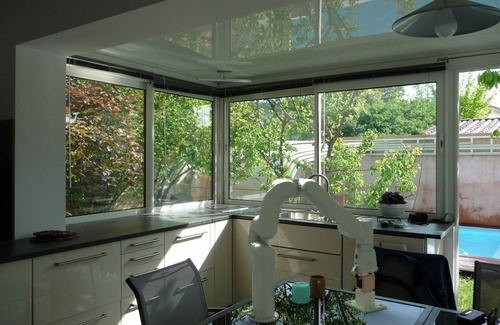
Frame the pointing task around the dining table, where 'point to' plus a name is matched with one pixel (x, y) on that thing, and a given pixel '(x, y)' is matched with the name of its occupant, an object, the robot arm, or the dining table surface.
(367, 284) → the orange tan cube
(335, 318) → the dining table surface
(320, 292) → the mug
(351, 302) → the tower plate
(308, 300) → the turquoise cylinder
